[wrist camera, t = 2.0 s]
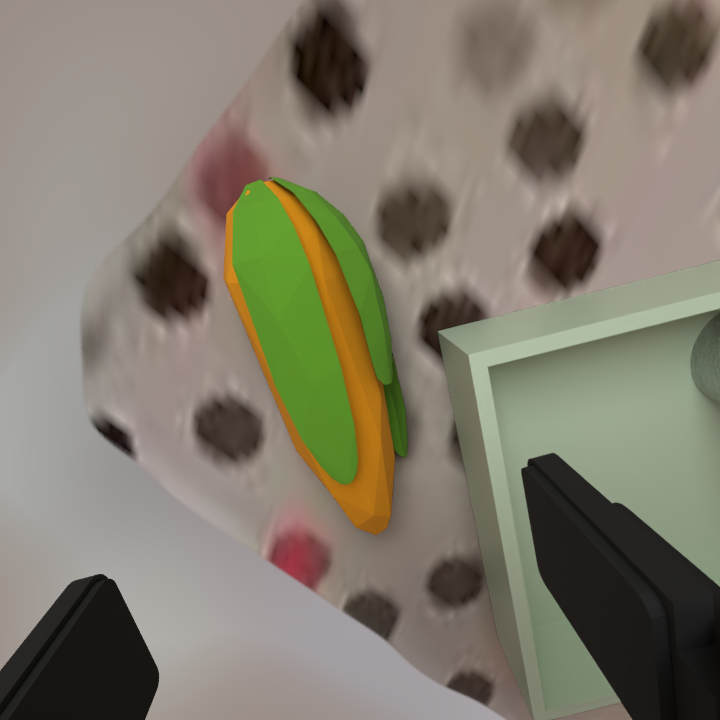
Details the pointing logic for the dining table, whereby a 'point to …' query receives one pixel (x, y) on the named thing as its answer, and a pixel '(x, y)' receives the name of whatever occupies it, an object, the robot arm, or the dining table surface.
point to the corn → (320, 340)
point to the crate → (585, 449)
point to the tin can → (707, 360)
